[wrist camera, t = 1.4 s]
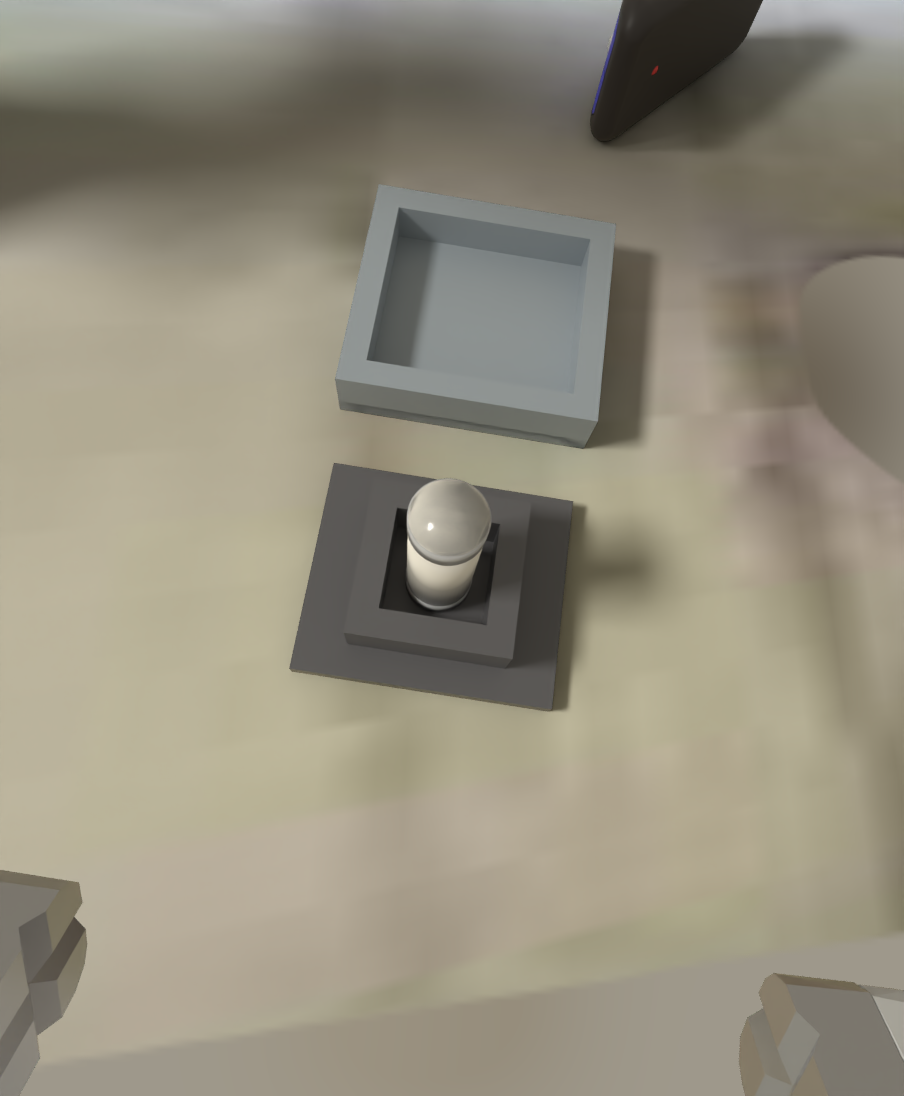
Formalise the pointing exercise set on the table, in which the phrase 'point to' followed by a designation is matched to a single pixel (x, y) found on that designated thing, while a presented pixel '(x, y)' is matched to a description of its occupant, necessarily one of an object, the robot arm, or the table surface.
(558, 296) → the parts tray
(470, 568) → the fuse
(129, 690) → the table surface
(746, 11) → the leaning round-cornered charcoal block
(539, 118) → the table surface
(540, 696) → the fuse holder
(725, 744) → the table surface
